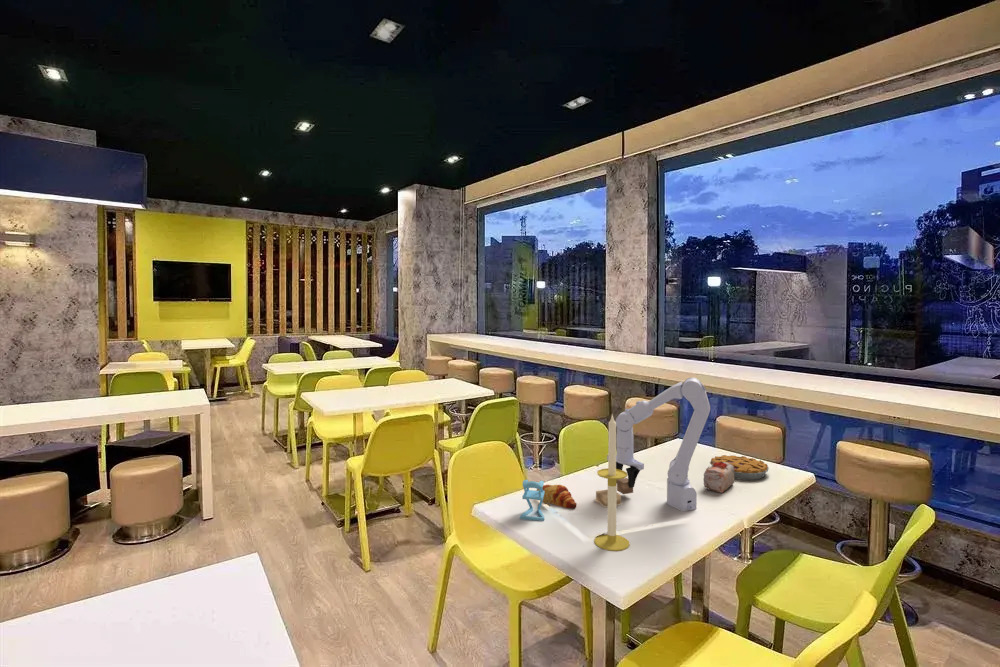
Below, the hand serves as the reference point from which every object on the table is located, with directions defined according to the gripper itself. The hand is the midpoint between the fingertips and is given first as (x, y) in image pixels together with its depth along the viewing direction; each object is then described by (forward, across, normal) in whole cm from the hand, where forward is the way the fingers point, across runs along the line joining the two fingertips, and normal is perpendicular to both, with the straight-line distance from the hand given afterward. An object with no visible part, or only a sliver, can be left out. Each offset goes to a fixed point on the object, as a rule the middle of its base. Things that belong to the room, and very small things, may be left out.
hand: (625, 485), depth 176 cm
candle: (+6, -18, +29) cm, 35 cm away
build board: (+5, 0, +5) cm, 8 cm away
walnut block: (+2, 0, 0) cm, 2 cm away
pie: (+6, -10, -61) cm, 62 cm away
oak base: (+4, 0, +8) cm, 9 cm away
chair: (+6, +10, +34) cm, 36 cm away
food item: (+6, -14, -38) cm, 41 cm away
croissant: (+6, +14, +20) cm, 25 cm away
